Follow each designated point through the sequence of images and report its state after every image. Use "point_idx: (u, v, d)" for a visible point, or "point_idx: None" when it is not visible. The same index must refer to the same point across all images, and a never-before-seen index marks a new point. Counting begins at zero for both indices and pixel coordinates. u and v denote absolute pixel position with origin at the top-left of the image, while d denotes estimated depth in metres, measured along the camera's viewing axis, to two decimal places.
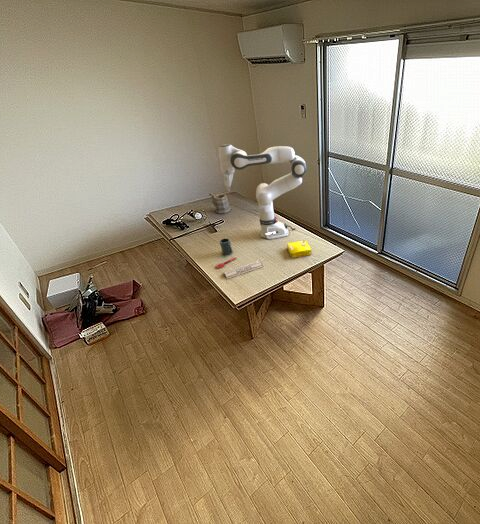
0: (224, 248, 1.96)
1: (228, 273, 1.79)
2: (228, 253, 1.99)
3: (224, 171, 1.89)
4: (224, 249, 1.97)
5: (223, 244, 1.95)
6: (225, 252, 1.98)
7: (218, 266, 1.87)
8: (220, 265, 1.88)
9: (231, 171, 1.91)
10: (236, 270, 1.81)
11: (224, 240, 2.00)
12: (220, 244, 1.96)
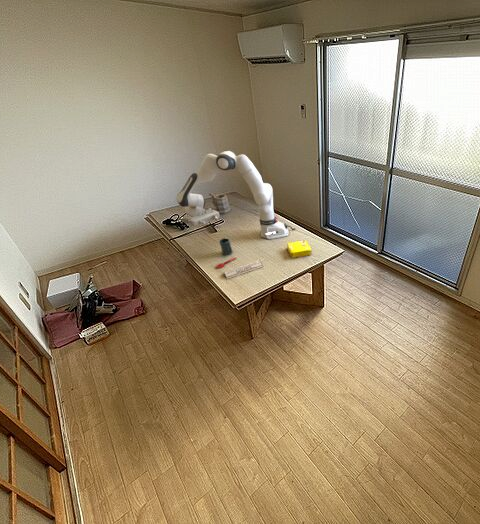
0: (224, 248, 1.96)
1: (228, 273, 1.79)
2: (228, 253, 1.99)
3: None
4: (224, 249, 1.97)
5: (223, 244, 1.95)
6: (225, 252, 1.98)
7: (218, 266, 1.87)
8: (220, 265, 1.88)
9: (195, 213, 2.00)
10: (236, 270, 1.81)
11: (224, 240, 2.00)
12: (220, 244, 1.96)
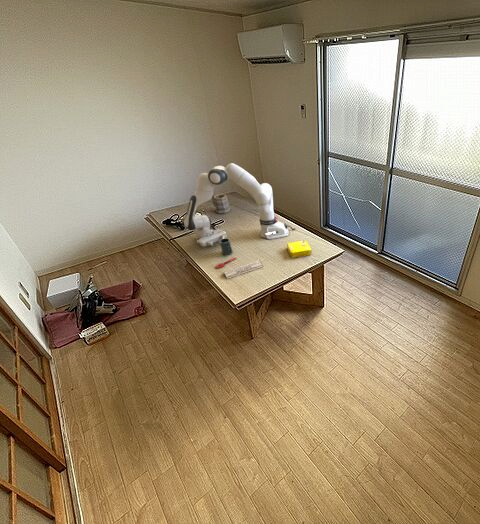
0: (224, 248, 1.96)
1: (228, 273, 1.79)
2: (228, 253, 1.99)
3: None
4: (224, 249, 1.97)
5: (223, 244, 1.95)
6: (225, 252, 1.98)
7: (218, 266, 1.87)
8: (220, 265, 1.88)
9: (203, 234, 2.07)
10: (236, 270, 1.81)
11: (224, 240, 2.00)
12: (220, 244, 1.96)
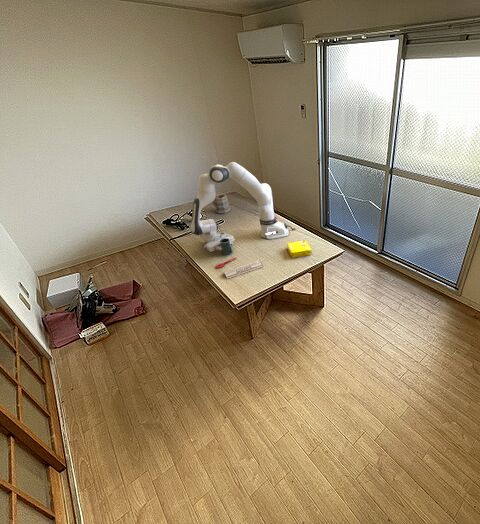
0: (224, 248, 1.96)
1: (228, 273, 1.79)
2: (228, 253, 1.99)
3: None
4: (224, 249, 1.97)
5: (223, 244, 1.95)
6: (225, 252, 1.98)
7: (218, 266, 1.87)
8: (220, 265, 1.88)
9: (210, 239, 2.02)
10: (236, 270, 1.81)
11: (224, 240, 2.00)
12: (220, 244, 1.96)
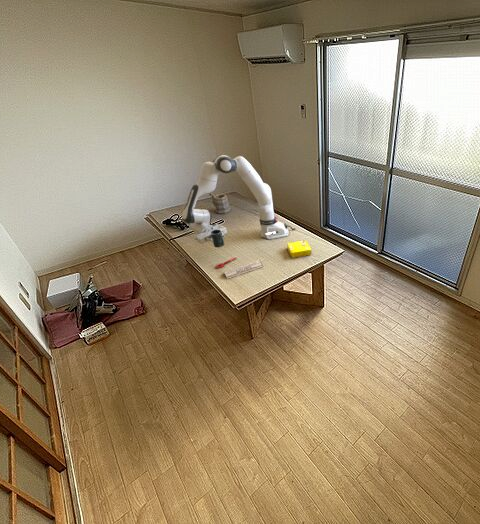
0: (215, 240, 1.84)
1: (228, 273, 1.79)
2: (220, 245, 1.87)
3: None
4: (215, 241, 1.84)
5: (214, 235, 1.82)
6: (216, 244, 1.86)
7: (218, 266, 1.87)
8: (220, 265, 1.88)
9: (201, 230, 1.90)
10: (236, 270, 1.81)
11: (215, 231, 1.87)
12: (211, 235, 1.83)
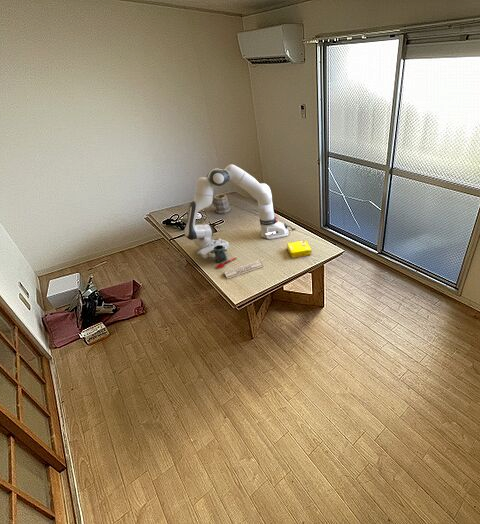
0: (218, 255, 1.89)
1: (228, 273, 1.79)
2: (222, 260, 1.92)
3: None
4: (218, 256, 1.89)
5: (217, 251, 1.87)
6: (219, 259, 1.91)
7: (218, 266, 1.87)
8: (220, 265, 1.88)
9: (204, 245, 1.94)
10: (236, 270, 1.81)
11: (218, 247, 1.92)
12: (214, 251, 1.88)
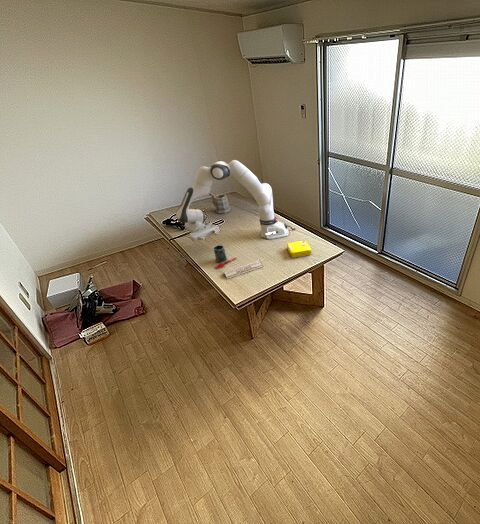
0: (218, 255, 1.89)
1: (228, 273, 1.79)
2: (222, 260, 1.92)
3: None
4: (218, 256, 1.89)
5: (217, 251, 1.87)
6: (219, 259, 1.91)
7: (218, 266, 1.87)
8: (220, 265, 1.88)
9: (195, 229, 1.99)
10: (236, 270, 1.81)
11: (218, 247, 1.92)
12: (214, 251, 1.88)
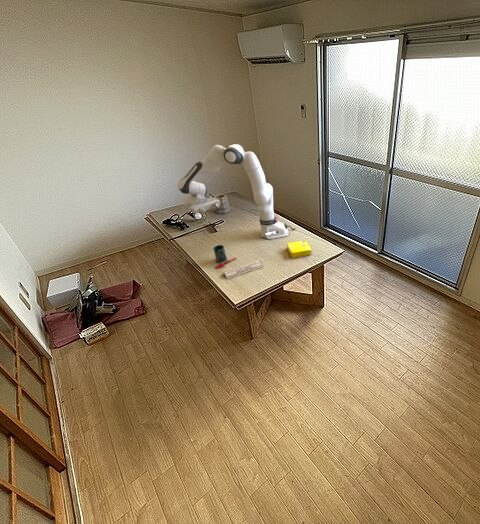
0: (218, 255, 1.89)
1: (228, 273, 1.79)
2: (222, 260, 1.92)
3: None
4: (218, 256, 1.89)
5: (217, 251, 1.87)
6: (219, 259, 1.91)
7: (218, 266, 1.87)
8: (220, 265, 1.88)
9: (195, 201, 1.96)
10: (236, 270, 1.81)
11: (218, 247, 1.92)
12: (214, 251, 1.88)
